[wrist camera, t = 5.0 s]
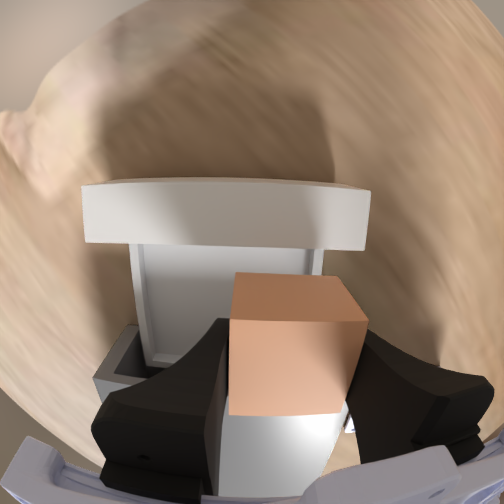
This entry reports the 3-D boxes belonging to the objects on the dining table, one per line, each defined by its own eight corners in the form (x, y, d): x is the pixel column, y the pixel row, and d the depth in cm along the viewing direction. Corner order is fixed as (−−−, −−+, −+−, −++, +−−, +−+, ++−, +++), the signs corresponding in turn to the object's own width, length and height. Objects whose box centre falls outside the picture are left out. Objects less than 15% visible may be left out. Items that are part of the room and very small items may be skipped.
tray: (342, 183, 17) (371, 191, 13) (317, 361, 21) (330, 402, 17) (118, 179, 17) (81, 185, 13) (137, 353, 21) (117, 391, 17)
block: (337, 275, 13) (369, 320, 9) (321, 356, 14) (340, 412, 10) (235, 271, 12) (229, 319, 9) (233, 355, 14) (228, 414, 10)
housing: (329, 332, 21) (355, 391, 15) (301, 448, 26) (309, 497, 20) (127, 324, 21) (92, 377, 15) (157, 441, 26) (145, 488, 19)
